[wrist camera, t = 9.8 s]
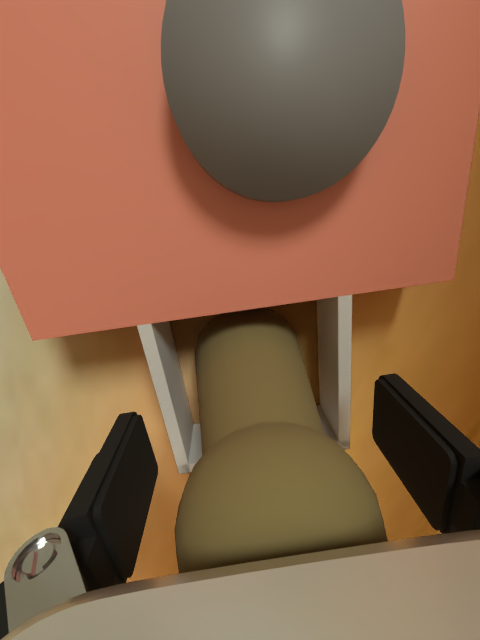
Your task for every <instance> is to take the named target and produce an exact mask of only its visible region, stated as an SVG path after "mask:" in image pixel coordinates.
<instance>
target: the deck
mask: <svg viewBox="0 0 480 640" xmlns="http://www.w3.org/2000/svg"><path fill="white" fill-rule="evenodd" d="M479 109H480V0H0V268H1V270H2V272H3V275H4V277H5V279H6V281H7V284H8V286H9V288H10V290H11V293H12V295H13V297H14V300H15V302H16V304H17V306H18V309H19V311H20V313H21V315H22V318H23V320H24V322H25V324H26V327H27V329H28V331H29V334H30V336H31V338H32V340H40V339H47V338H54V337H61V336H68V335H75V334H82V333H89V332H96V331H103V330H110V329H117V328H124V327H131V326H137V328H138V331H139V335H140V338H141V342H142V345H143V349H144V352H145V356H146V359H147V363H148V366H149V370H150V373H151V377H152V380H153V384H154V387H155V391H156V394H157V398H158V401H159V405H160V408H161V412H162V415H163V419H164V422H165V426H166V429H167V433H168V436H169V440H170V443H171V447H172V450H173V454H174V457H175V461H176V464H177V468H178V471H179V474H183V473H190V472H191V471H192V469H193V467H194V465H195V464H196V463H197V462H198V460H199V459H200V458H201V457H202V444H201V430H200V423H196V424H194V423H193V419H192V415H191V410H190V406H189V402H188V398H187V394H186V389H185V385H184V381H183V377H182V373H181V369H180V364H179V360H178V356H177V352H176V348H175V343H174V339H173V335H172V331H171V327H170V323H169V321H172V320H179V319H186V318H193V317H200V316H207V315H214V314H221V313H228V312H235V311H242V310H249V309H256V308H263V307H270V306H277V305H284V304H291V303H298V302H305V301H312V300H317V330H318V361H319V391H320V405H318V406H316V407H317V410H318V414H319V417H320V421H321V424H322V428H323V431H324V435H326V436H328V437H330V438H331V439H333V440H335V441H336V442H337V443H338V444H339V445H340V446H341V447H342V448H343V449H350V405H351V340H352V295H353V294H360V293H367V292H374V291H381V290H388V289H395V288H402V287H409V286H416V285H423V284H430V283H437V282H444V281H451V280H454V276H455V270H456V263H457V256H458V250H459V243H460V236H461V230H462V223H463V216H464V209H465V203H466V196H467V189H468V183H469V176H470V169H471V163H472V156H473V149H474V142H475V136H476V129H477V122H478V116H479Z"/></svg>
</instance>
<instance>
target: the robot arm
mask: <svg viewBox="0 0 480 640" xmlns="http://www.w3.org/2000/svg"><path fill="white" fill-rule="evenodd" d="M372 435H373V439H374V441H375V443H376V444H377V446H378V447H379V449H380V450H381V452H382V453H383V455H384V456H385V458H386V459H387V461H388V462H389V464H390V465H391V467H392V468H393V469H394V471H395V472H396V474H397V475H398V477H399V478H400V480H401V481H402V483H403V484H404V486H405V487H406V489H407V490H408V492H409V493H410V495H411V496H412V498H413V499H414V501H415V502H416V504H417V505H418V506H419V508H420V509H421V511H422V512H423V514H424V515H425V517H426V518H427V520H428V521H429V523H430V524H431V526H432V527H433V528H434V529H435V530H440V532H441V533H442V534H438V535H430V536H422V537H415V538H408V539H401V540H394V541H388V542H381V543H374V544H367V545H360V546H354V547H347V548H340V549H333V550H327V551H320V552H314V553H307V554H301V555H294V556H288V557H281V558H275V559H268V560H262V561H255V562H249V563H242V564H236V565H230V566H224V567H217V568H211V569H205V570H199V571H192V572H186V573H180V574H174V575H168V576H162V577H156V578H151V579H145V580H140V581H134V582H129V583H126V580H127V578H130V577H131V576H132V574H133V571H134V567H135V563H136V559H137V555H138V551H139V547H140V543H141V539H142V535H143V531H144V527H145V523H146V519H147V515H148V511H149V507H150V503H151V499H152V495H153V491H154V487H155V483H156V479H157V475H158V466H157V462H156V459H155V456H154V453H153V449H152V446H151V443H150V440H149V437H148V434H147V431H146V428H145V424H144V421H143V418H142V416H141V415H137V413H136V412H130V413H123V414H120V415H119V416H118V418H117V419H116V421H115V423H114V425H113V427H112V429H111V431H110V433H109V435H108V437H107V439H106V441H105V443H104V445H103V446H102V448H101V450H100V452H99V453H98V454H97V455H96V456H95V458H94V459H93V461H92V463H91V465H90V467H89V469H88V471H87V472H86V474H85V476H84V478H83V480H82V482H81V484H80V486H79V488H78V489H77V491H76V493H75V495H74V497H73V499H72V501H71V503H70V505H69V507H68V508H67V510H66V512H65V514H64V516H63V518H62V520H61V522H60V524H59V525H58V527H55V528H49V529H46V530H43V531H41V532H39V533H38V534H36V535H34V536H33V537H31V538H30V539H29V540H28V541H26V542H25V543H24V544H23V545H22V546H21V547H20V548H19V549H18V550H17V551H16V553H15V554H14V556H13V557H12V558H11V560H10V561H9V563H8V566H7V568H6V570H5V575H4V581H3V582H2V583H1V584H0V640H480V449H479V448H478V447H477V446H476V445H475V444H473V443H472V442H471V441H470V440H469V439H468V438H467V437H466V436H465V435H463V434H462V433H461V432H460V431H459V430H458V429H457V428H456V427H455V426H454V425H452V424H451V423H450V422H449V421H448V420H447V419H446V418H445V417H444V416H443V415H441V414H440V413H439V412H438V411H437V410H436V409H435V408H434V407H433V406H431V405H430V404H429V403H428V402H427V401H426V400H425V399H424V398H423V397H422V396H420V395H419V394H418V393H417V392H416V391H415V390H414V389H413V388H412V387H411V386H409V385H408V384H407V383H406V382H405V381H404V380H403V379H402V378H401V377H399V376H398V375H397V374H388V375H381V376H380V377H379V379H378V380H376V381H375V389H374V409H373V428H372Z"/></svg>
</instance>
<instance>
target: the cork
mask: <svg viewBox="0 0 480 640" xmlns="http://www.w3.org/2000/svg"><path fill="white" fill-rule="evenodd" d="M195 361H196V375H197V389H198V402H199V416H200V430H201V444H202V457H201V458H200V459H199V460H198V462H197V463H196V464H195V465H194V467H193V469H192V471H191V474H190V476H189V478H188V481H187V483H186V486H185V489H184V492H183V495H182V498H181V501H180V504H179V507H178V513H177V519H176V525H175V541H176V554H177V562H178V569H179V574H180V573H186V572H192V571H199V570H205V569H211V568H217V567H224V566H230V565H236V564H242V563H249V562H255V561H262V560H268V559H275V558H281V557H288V556H294V555H301V554H307V553H314V552H320V551H327V550H333V549H340V548H347V547H354V546H360V545H367V544H374V543H381V542H388V540H387V536H386V531H385V527H384V522H383V518H382V515H381V511H380V508H379V504H378V500H377V497H376V494H375V492H374V490H373V489H372V487H371V485H370V483H369V482H368V480H367V478H366V476H365V475H364V473H363V472H362V471H361V469H360V468H359V467H358V466H357V464H356V463H355V462H354V461H353V459H352V458H351V457H350V456H349V455H348V454H347V453H346V451H345V450H344V449H343V448H342V447H341V446H340V445H339V444H338V443H337V442H336V441H335V440H333V439H331V438H330V437H328V436H326V435H324V431H323V428H322V424H321V421H320V417H319V414H318V410H317V407H316V403H315V399H314V396H313V392H312V389H311V385H310V382H309V378H308V375H307V371H306V368H305V364H304V361H303V357H302V354H301V350H300V347H299V343H298V340H297V336H296V333H295V331H294V330H293V329H292V327H291V326H290V325H289V323H288V322H287V320H285V319H284V318H282V317H281V316H279V315H278V314H276V313H275V312H274V311H271V310H267V309H264V308H256V309H249V310H242V311H235V312H228V313H221V314H219V315H218V316H217V317H215V318H214V319H213V320H211V321H210V322H209V323H208V324H207V325H206V327H205V328H204V330H203V331H202V332H201V334H200V335H199V338H198V341H197V345H196V348H195Z"/></svg>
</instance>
